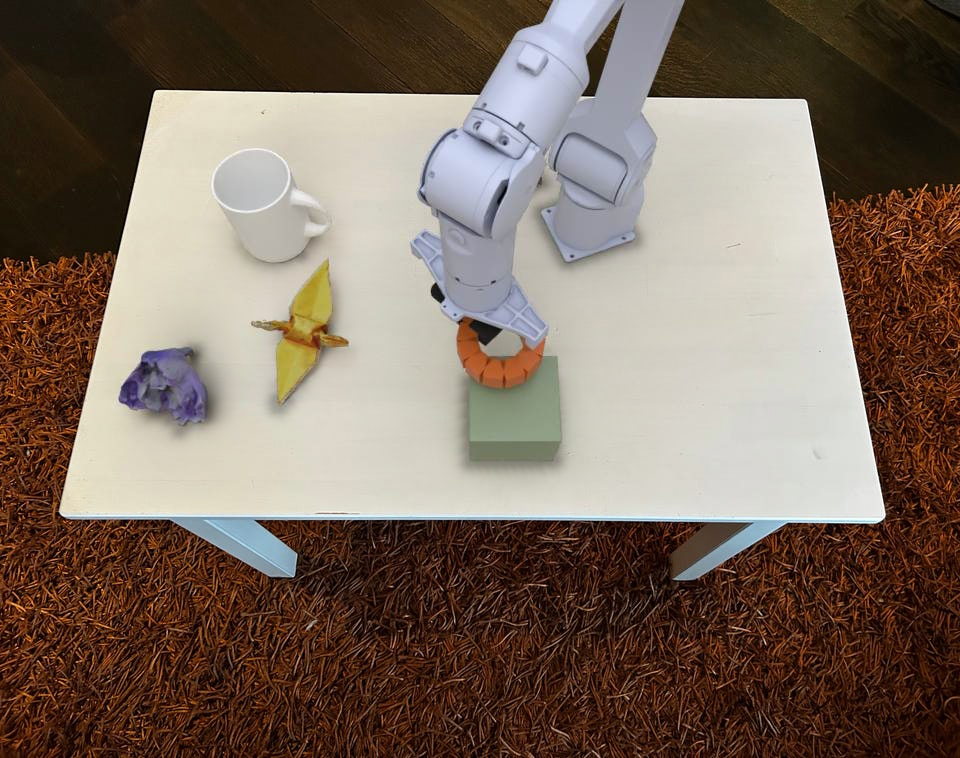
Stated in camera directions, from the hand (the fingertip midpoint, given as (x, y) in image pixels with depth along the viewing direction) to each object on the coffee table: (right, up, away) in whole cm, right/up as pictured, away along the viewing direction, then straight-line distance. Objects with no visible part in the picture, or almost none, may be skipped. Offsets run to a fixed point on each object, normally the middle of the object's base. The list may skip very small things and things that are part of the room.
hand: (477, 328), depth 65 cm
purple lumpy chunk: (-33, -6, +9) cm, 35 cm away
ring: (+2, -2, 0) cm, 3 cm away
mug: (-23, +12, +16) cm, 31 cm away
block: (+4, -10, +7) cm, 13 cm away
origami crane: (-20, 0, +11) cm, 23 cm away
